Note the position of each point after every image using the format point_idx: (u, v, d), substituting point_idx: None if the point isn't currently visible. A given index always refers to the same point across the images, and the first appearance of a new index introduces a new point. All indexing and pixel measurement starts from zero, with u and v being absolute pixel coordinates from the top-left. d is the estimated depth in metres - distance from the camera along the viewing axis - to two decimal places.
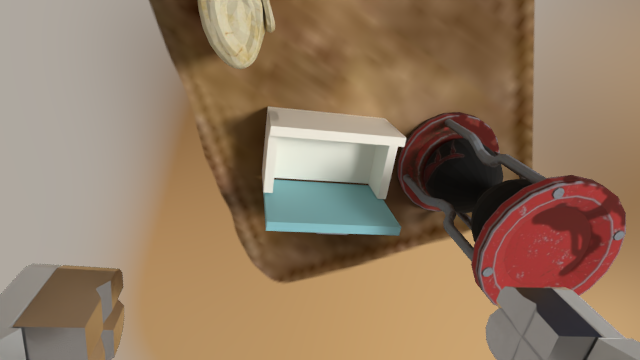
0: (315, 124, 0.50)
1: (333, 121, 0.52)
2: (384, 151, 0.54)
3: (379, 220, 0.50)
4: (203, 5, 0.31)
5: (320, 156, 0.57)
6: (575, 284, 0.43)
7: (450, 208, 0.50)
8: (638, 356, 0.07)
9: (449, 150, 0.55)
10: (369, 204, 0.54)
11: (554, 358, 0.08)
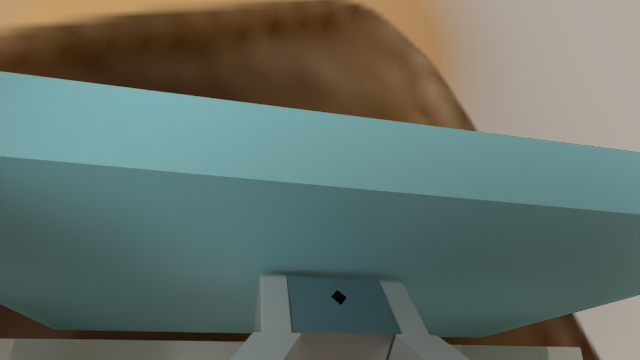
0: None
1: None
2: None
3: None
4: None
5: None
6: None
7: None
8: (428, 355, 0.06)
9: None
10: (74, 287, 0.09)
11: (351, 357, 0.07)
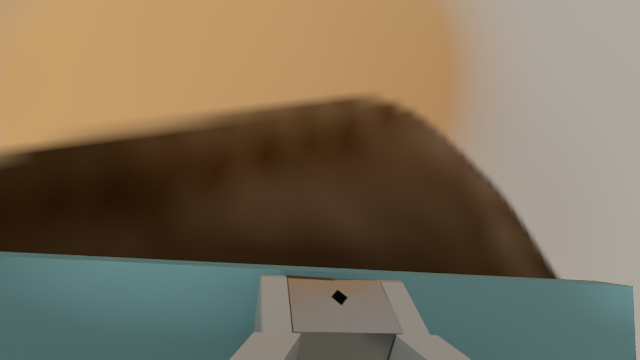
0: None
1: None
2: None
3: (34, 327, 0.08)
4: None
5: None
6: None
7: None
8: (429, 355, 0.06)
9: None
10: None
11: (352, 357, 0.07)
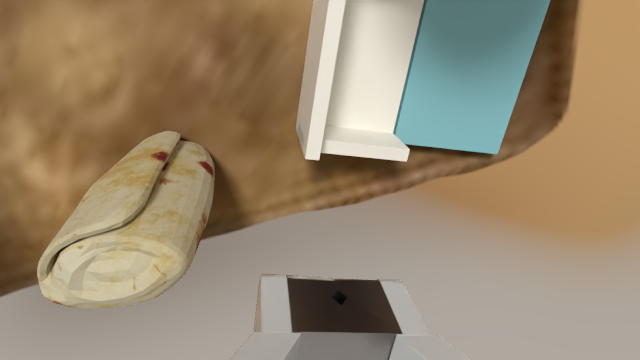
0: (311, 85, 0.33)
1: (313, 47, 0.34)
2: None
3: (533, 12, 0.38)
4: (105, 306, 0.24)
5: (371, 59, 0.37)
6: None
7: None
8: (429, 355, 0.06)
9: None
10: (490, 4, 0.37)
11: (352, 357, 0.07)
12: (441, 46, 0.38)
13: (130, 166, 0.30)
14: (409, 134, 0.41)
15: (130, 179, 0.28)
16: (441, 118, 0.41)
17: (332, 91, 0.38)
